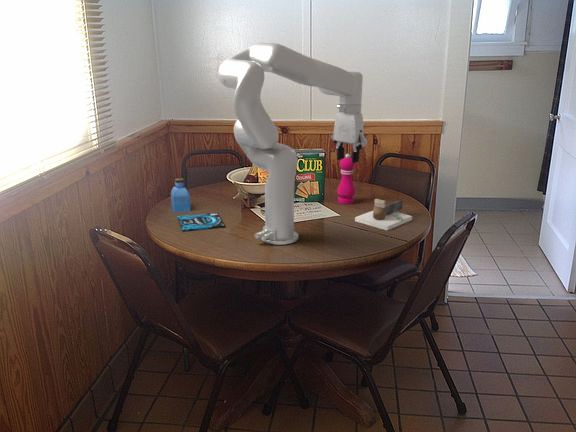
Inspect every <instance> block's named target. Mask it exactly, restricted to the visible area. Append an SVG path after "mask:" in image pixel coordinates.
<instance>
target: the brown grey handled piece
mask: <svg viewBox="0 0 576 432" xmlns="http://www.w3.org/2000/svg"><path fill="white" fill-rule="evenodd" d="M403 201H404V200H402V199H399V200H396V201H393V202H390V203H387V204H386V202H387V201H386V200H384V199H383V200H382V199H379V198H374V205H373V210H372V211H373V218H375V219H384V218H385V216H386V215H388V214H391V213H394V212H398V211H401V210H403Z"/></svg>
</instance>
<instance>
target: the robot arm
mask: <svg viewBox="0 0 576 432" xmlns="http://www.w3.org/2000/svg"><path fill="white" fill-rule="evenodd" d="M265 73H271V74H274V75H276V76H279V77H282V78H285V79H287V80H289V81H292V82H294V83H297V84H299V85H303V86H307V87H313V88H318V90H319V91H320V92H321V93H323V94H324V95H326V96H327V95H328V96H334V97H335V96H336V97H339V100H338V101H339V102H338V103H339V104H337V109H338V111H337V112H336V115H335V119H334V125H333V133H332V134H331V135H330V139H331V141H333V143H334V145H335V148H336V149H337V150H336V160H337V161H338V160H339V161H341V160H342V159H344V158H345V147H344V144H351V145H352V149H353V151H352V152H351V158H352V163H355V164H356V163H359V161H360V160H359V159H360V151H362V149H363V148H364V147H365V146H366V145H367V144H368V140H367V138H366V137H365V135H364V117H363V113H362V99H363V98H362V97H363V82H364V81H363V79H364V78H363V74H362V73H361V72H360V71H359V72H358V71H348V70H346V69H344V68H341V67H338V66H335V65H333V64H330V63H326V62H323V61H321V60H319V59H316V58H312V57H310V56H307V55H305V54H302V53H300V52H298V51H296V50H294V49H291V48H289V47H287V46H285V45H282V44H280V43H275V42H257V43H255V44H253V45H250V46H249V47H247V48H245V49H242V50H241V51H239V52H238V53H235V54H234V55H232V56H230V57H228V58H227V59H225V60H224V61H223V62H222V63H221V64H220V65H219V67H218V75H217V76H218V80H219V81H220V83H221V84H222V85H223V86H225V87H226V88H228V89H231V90H232V89H233V90H235V91H234V94H233V95H234V96H233V101H232V107H233V108H232V110H233V112H234V115H235V117H236V119H237V120H235V123H234V125H233V135H234V138H235V141H236V142H237V144H238V145H239V147H240V148H241V150H242V151H243V153H244V154H245V156H246V157H247V158H248V160H249V162H251V163H252V165H254V167H256V168H259V169H260V170H264V171H266V172H268V176H267V178H266V180H265V185H264V216H265V217H264V218H265V219H264V226H262V230H261V231H258V232H256V233H254V238H255V239H256V240H258V239H260V240H261V241H263V242H264V243H266V244H271V245H277V246H278V245H280V246H281V245H289V244H293V243H295V242H297V241H298V240H299V234H298V232H296V231H295V180H296V174H297V173H296V172H297V170H298V169H297V168H298V165H299V164H298V163H299V160H298V155H297V153H296V151H295V150H294V149H293V148H292V147H291V146H289V145H286V144H283V143H280V142H278V141H279V131H278V128H277V127H276V124H274V122H273V120H272V119H271V116H270V115H269V113H268V112H267V111H266V109H265V107H264V105H263V103H262V100H261V96H262V94H261V93H262V88H263V87H264V83H265Z"/></svg>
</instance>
